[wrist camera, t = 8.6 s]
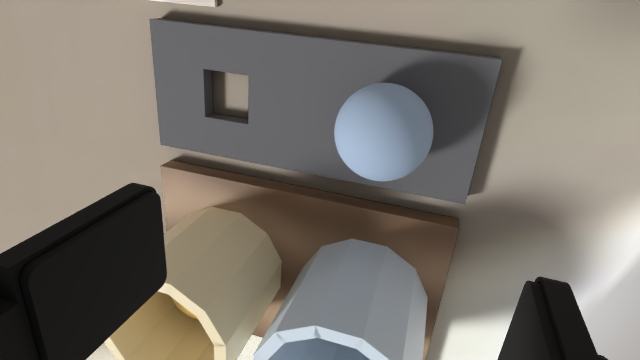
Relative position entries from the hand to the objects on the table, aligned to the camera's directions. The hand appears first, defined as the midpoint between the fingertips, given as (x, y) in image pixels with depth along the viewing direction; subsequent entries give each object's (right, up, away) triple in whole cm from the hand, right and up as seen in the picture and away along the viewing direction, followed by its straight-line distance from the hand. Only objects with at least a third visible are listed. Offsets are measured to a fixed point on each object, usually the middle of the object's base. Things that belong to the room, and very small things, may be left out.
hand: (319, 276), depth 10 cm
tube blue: (+3, -5, +17) cm, 18 cm away
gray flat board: (-1, +7, +15) cm, 16 cm away
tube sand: (-7, -3, +20) cm, 21 cm away
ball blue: (+3, +5, +11) cm, 12 cm away
